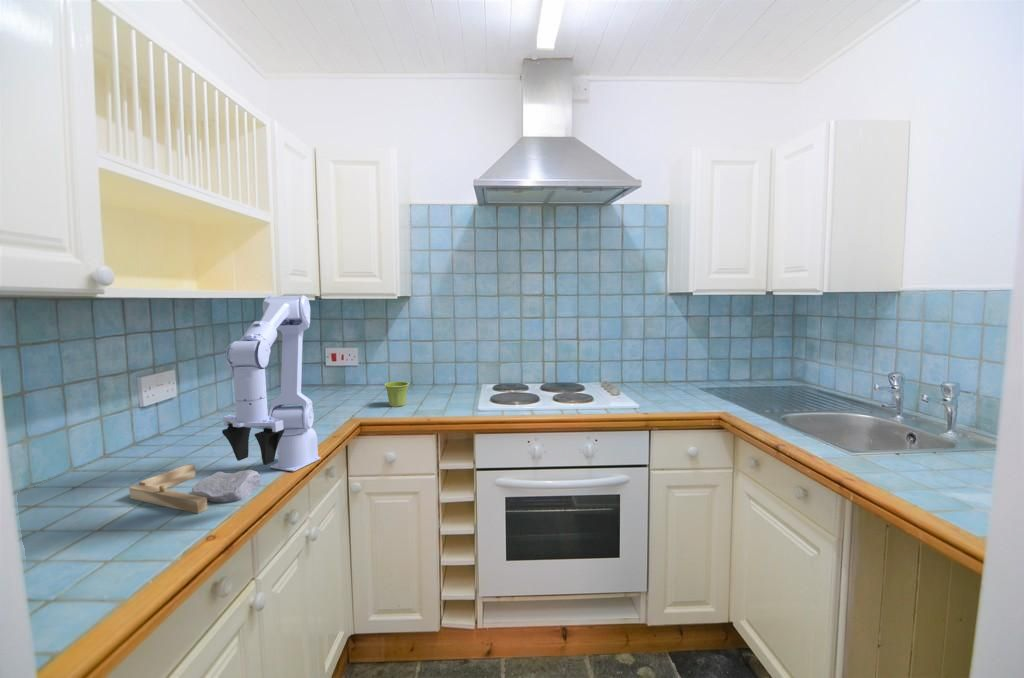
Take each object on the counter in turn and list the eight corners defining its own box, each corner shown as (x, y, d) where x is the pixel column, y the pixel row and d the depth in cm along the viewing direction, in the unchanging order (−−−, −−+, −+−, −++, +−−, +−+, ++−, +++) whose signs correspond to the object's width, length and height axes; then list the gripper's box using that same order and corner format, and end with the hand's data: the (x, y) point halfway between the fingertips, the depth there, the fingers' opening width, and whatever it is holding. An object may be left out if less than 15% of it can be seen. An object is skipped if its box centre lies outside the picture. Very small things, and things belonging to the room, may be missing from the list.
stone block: (242, 510, 97) (265, 482, 107) (237, 491, 96) (260, 464, 105) (186, 513, 97) (214, 485, 106) (180, 494, 95) (209, 467, 105)
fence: (189, 475, 111) (188, 461, 111) (253, 487, 104) (252, 472, 104) (130, 498, 99) (128, 482, 98) (198, 513, 92) (196, 496, 91)
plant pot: (412, 402, 183) (412, 381, 182) (405, 408, 174) (404, 386, 173) (390, 402, 184) (389, 381, 183) (381, 408, 175) (380, 386, 174)
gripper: (207, 399, 92) (212, 463, 94) (260, 405, 87) (265, 472, 89) (238, 392, 99) (242, 452, 100) (289, 397, 94) (293, 459, 95)
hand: (255, 461), depth 95 cm, fingers open, 7 cm apart
